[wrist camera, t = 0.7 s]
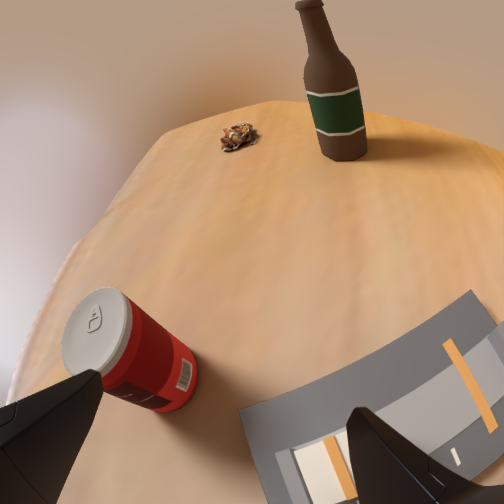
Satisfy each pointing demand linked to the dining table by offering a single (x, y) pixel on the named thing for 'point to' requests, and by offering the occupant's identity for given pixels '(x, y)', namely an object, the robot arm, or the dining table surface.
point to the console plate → (396, 401)
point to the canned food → (128, 352)
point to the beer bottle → (331, 88)
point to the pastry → (237, 136)
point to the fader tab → (328, 470)
